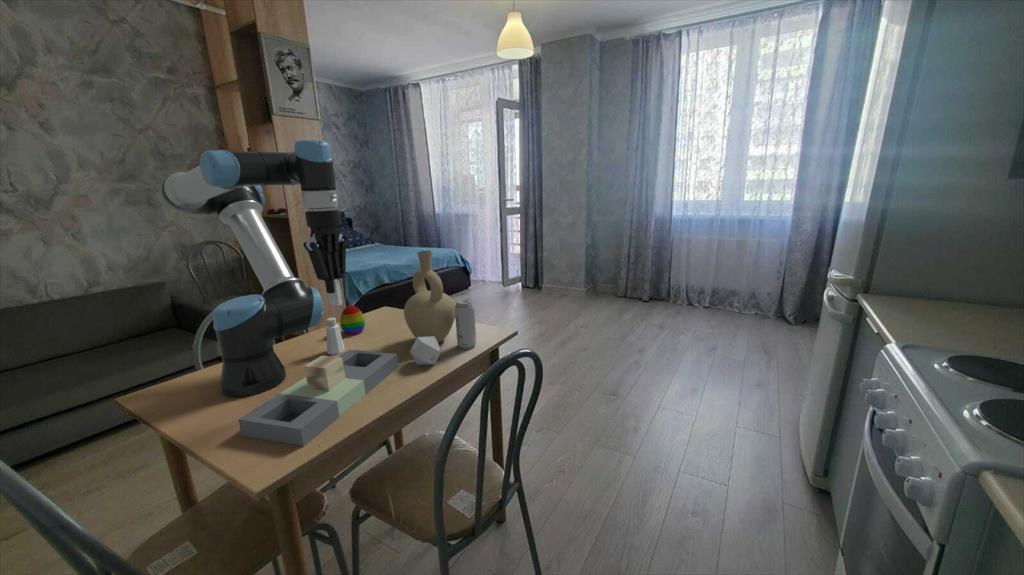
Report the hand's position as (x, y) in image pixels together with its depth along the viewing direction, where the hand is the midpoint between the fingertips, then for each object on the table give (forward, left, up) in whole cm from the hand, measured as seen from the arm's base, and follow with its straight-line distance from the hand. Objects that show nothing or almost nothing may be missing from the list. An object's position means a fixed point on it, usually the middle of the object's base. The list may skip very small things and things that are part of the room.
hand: (336, 304), depth 103 cm
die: (+15, +16, -22) cm, 31 cm away
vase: (+9, +32, -22) cm, 40 cm away
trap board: (0, -6, -22) cm, 23 cm away
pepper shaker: (-18, +18, -22) cm, 34 cm away
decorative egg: (-23, +34, -22) cm, 47 cm away
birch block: (0, -8, -18) cm, 20 cm away
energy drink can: (+22, +30, -22) cm, 43 cm away
